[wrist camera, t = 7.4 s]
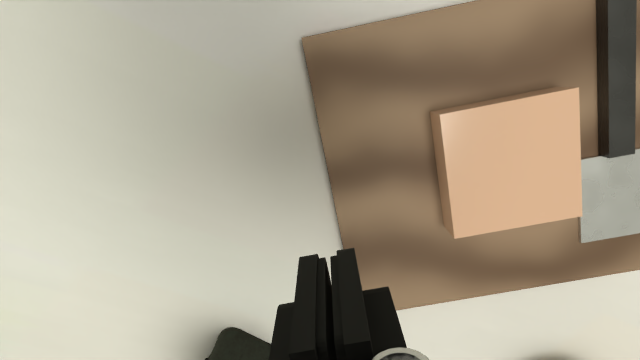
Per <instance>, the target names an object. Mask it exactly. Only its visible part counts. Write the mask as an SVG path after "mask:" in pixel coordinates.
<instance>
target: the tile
mask: <svg viewBox="0 0 640 360" xmlns="http://www.w3.org/2000/svg"><path fill="white" fill-rule="evenodd" d="M430 118H431V126H432V134H433V142H434V150H435V158H436V166H437V174H438V182H439V190H440V198H441V206H442V214H443V222H444V227H445V228H446V229H447V230H448V232H449V233H450V234H451V235H452V236H453V238H454V239H457V238H462V237H468V236H474V235H479V234H485V233H491V232H496V231H502V230H508V229H513V228H519V227H525V226H530V225H536V224H542V223H547V222H553V221H559V220H564V219H570V218H575V217H581V216H582V179H581V142H580V105H579V87H552V88H547V89H542V90H537V91H532V92H527V93H522V94H517V95H512V96H507V97H502V98H497V99H492V100H487V101H482V102H477V103H471V104H466V105H461V106H456V107H451V108H446V109H441V110H436V111H431V112H430Z"/></svg>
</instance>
